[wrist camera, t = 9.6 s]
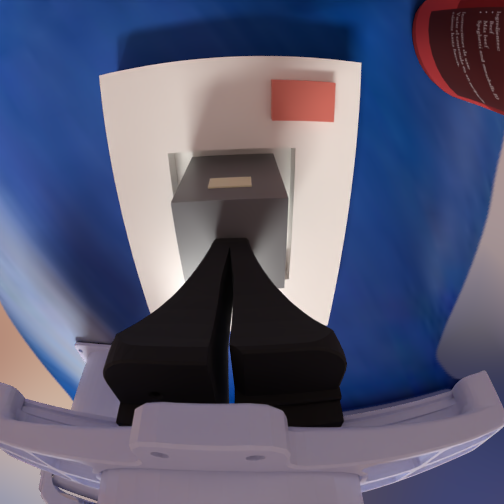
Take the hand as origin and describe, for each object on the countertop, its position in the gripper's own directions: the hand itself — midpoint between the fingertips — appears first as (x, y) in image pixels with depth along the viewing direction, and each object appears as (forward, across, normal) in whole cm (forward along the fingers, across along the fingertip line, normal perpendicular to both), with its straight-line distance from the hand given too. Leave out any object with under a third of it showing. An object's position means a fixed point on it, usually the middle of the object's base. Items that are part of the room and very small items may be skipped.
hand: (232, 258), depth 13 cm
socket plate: (+7, 0, +1) cm, 7 cm away
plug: (+6, 0, 0) cm, 6 cm away
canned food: (+8, -14, -11) cm, 20 cm away
